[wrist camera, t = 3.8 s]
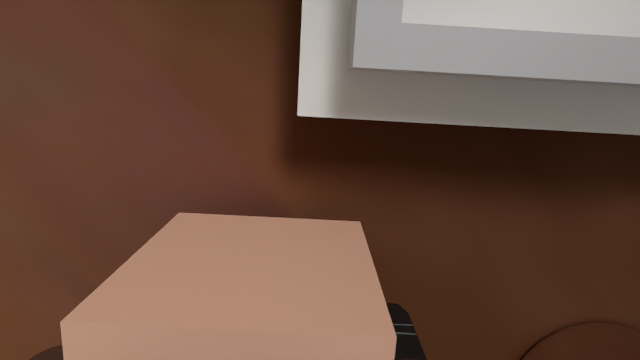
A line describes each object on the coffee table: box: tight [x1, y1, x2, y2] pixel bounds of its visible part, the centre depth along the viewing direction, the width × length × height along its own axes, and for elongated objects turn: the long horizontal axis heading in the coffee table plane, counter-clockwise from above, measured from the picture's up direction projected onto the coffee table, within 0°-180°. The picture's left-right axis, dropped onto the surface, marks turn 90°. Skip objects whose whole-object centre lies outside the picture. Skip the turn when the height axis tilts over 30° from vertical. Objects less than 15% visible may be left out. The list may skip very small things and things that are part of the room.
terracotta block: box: [60, 213, 397, 360], centre depth 10 cm, size 6×6×6 cm
